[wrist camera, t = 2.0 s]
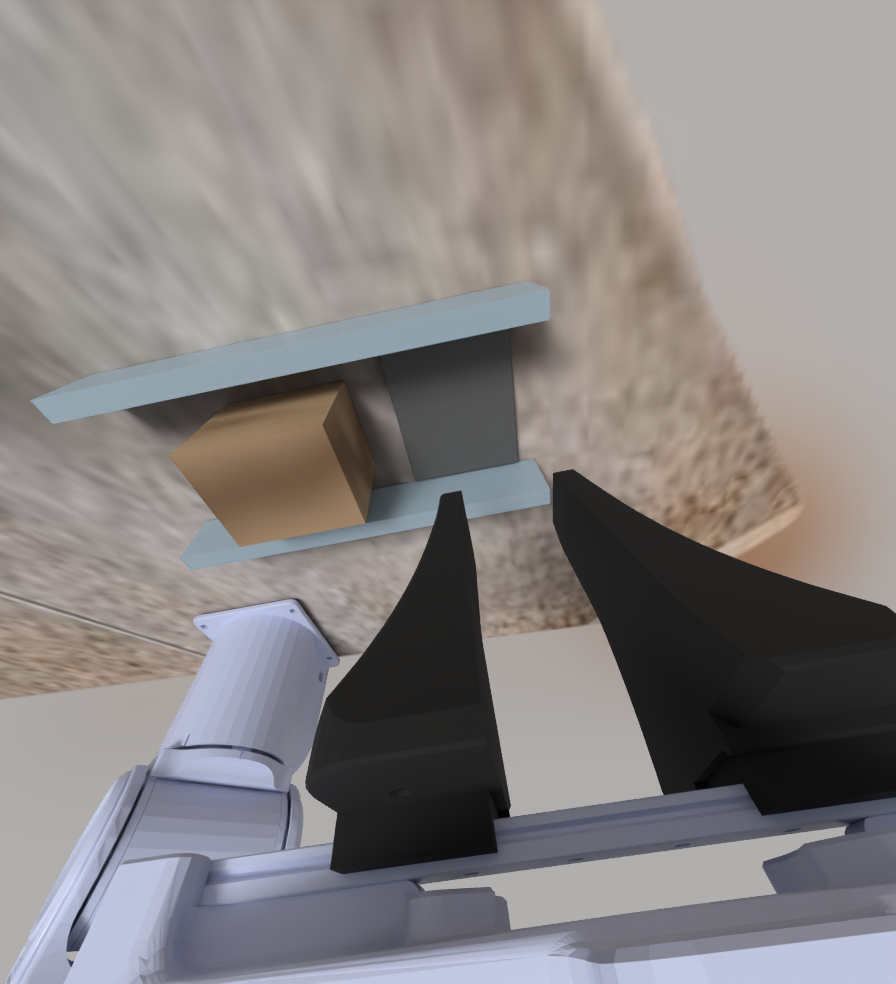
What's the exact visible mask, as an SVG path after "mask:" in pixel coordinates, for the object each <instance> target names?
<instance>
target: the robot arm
mask: <svg viewBox="0 0 896 984" xmlns="http://www.w3.org/2000/svg"><path fill="white" fill-rule="evenodd" d="M553 524H554V526H555V529H556V532H557V535H558V537H559V540H560V543H561V545H562V548H563V550H564V552H565V554H566V556H567V558H568V560H569V562H570V564H571V566H572V568H573V570H574V571H575V573H576V575H577V577H578V579H579V581H580V583H581V585H582V587H583V588H584V590H585V592H586V594H587V596H588V598H589V600H590V602H591V604H592V606H593V607H594V609H595V612H596V614H597V616H598V618H599V620H600V622H601V625H602V627H603V629H604V632H605V634H606V636H607V639H608V642H609V644H610V647H611V649H612V652H613V654H614V657H615V659H616V662H617V665H618V667H619V670H620V672H621V675H622V678H623V680H624V683H625V685H626V688H627V691H628V693H629V696H630V699H631V702H632V705H633V707H634V710H635V713H636V716H637V718H638V721H639V724H640V727H641V730H642V732H643V736H644V738H645V741H646V744H647V747H648V750H649V753H650V756H651V759H652V762H653V765H654V768H655V771H656V774H657V777H658V780H659V783H660V786H661V789H662V792H663V794H664V795H661V796H654V797H648V798H641V799H634V800H626V801H620V802H613V803H606V804H599V805H592V806H585V807H578V808H571V809H564V810H557V811H550V812H543V813H536V814H529V815H522V816H515V817H510V814H509V809H510V807H511V804H510V798H509V793H508V787H507V782H506V776H505V770H504V764H503V759H502V753H501V747H500V741H499V736H498V730H497V724H496V718H495V713H494V707H493V701H492V695H491V689H490V684H489V678H488V672H487V666H486V660H485V654H484V648H483V642H482V634H481V625H480V612H479V600H478V587H477V575H476V563H475V558H474V553H473V547H472V542H471V536H470V531H469V526H468V521H467V516H466V511H465V506H464V500H463V495H462V490H460V491H455V492H450V493H445V494H442V495H441V496H440V500H439V506H438V511H437V515H436V518H435V522H434V525H433V528H432V531H431V534H430V537H429V540H428V543H427V545H426V548H425V550H424V552H423V555H422V557H421V560H420V562H419V564H418V566H417V569H416V571H415V573H414V575H413V577H412V579H411V581H410V583H409V585H408V586H407V588H406V590H405V592H404V594H403V595H402V597H401V599H400V600H399V602H398V604H397V605H396V607H395V609H394V610H393V612H392V614H391V615H390V617H389V618H388V620H387V621H386V623H385V624H384V626H383V627H382V629H381V630H380V631H379V633H378V634H377V636H376V637H375V638H374V640H373V641H372V643H371V644H370V645H369V647H368V648H367V649H366V651H365V652H364V654H363V655H362V656H361V657H360V659H359V660H358V661H357V662H356V664H355V665H354V666H353V667H352V668H351V670H350V671H349V672H348V673H347V675H346V676H345V677H344V678H343V679H342V680H341V682H340V683H339V684H338V685H337V687H336V688H335V689H334V690H333V691H332V692H331V694H330V695H329V696H328V697H327V698H326V701H325V704H324V707H323V710H322V713H321V716H320V720H319V723H318V719H319V714H320V709H321V704H322V699H323V694H324V689H325V684H326V679H327V675H328V669H329V667H334V666H337V665H339V662H340V659H339V658H338V656H337V655H336V654H335V652H334V651H333V649H332V648H331V647H330V645H329V644H328V643H327V641H326V640H325V638H324V637H323V636H322V634H321V633H320V632H319V630H318V629H317V628H316V626H315V625H314V623H313V622H312V621H311V619H310V618H309V617H308V615H307V614H306V612H305V611H304V610H303V608H302V607H301V606H300V604H299V603H298V602H297V601H296V600H293V599H288V600H282V601H277V602H271V603H266V604H260V605H254V606H249V607H243V608H238V609H232V610H226V611H221V612H215V613H210V614H204V615H199V616H196V617H195V619H194V620H193V623H194V624H195V625H196V626H197V627H198V628H199V629H200V630H201V631H202V632H203V633H204V634H206V635H207V636H208V637H209V638H210V639H211V640H212V641H213V643H212V645H211V647H210V649H209V651H208V653H207V655H206V657H205V659H204V661H203V663H202V665H201V667H200V669H199V671H198V673H197V675H196V677H195V679H194V681H193V683H192V685H191V687H190V689H189V691H188V693H187V695H186V697H185V699H184V701H183V703H182V705H181V707H180V709H179V711H178V713H177V715H176V717H175V719H174V721H173V723H172V725H171V727H170V729H169V731H168V733H167V735H166V737H165V739H164V741H163V743H162V745H161V747H160V749H159V751H158V753H157V755H156V757H155V758H154V759H153V761H152V762H151V763H150V764H149V765H148V766H145V765H136V766H134V767H133V768H132V769H131V770H130V771H128V772H126V773H125V774H123V775H121V776H120V777H118V778H117V779H116V780H115V782H114V783H113V784H112V786H111V787H110V789H109V791H108V792H107V794H106V795H105V797H104V799H103V800H102V802H101V804H100V806H99V807H98V809H97V810H96V812H95V814H94V815H93V817H92V819H91V820H90V822H89V824H88V826H87V827H86V829H85V831H84V832H83V834H82V836H81V838H80V840H79V841H78V843H77V845H76V846H75V848H74V850H73V852H72V854H71V855H70V857H69V859H68V861H67V863H66V864H65V866H64V868H63V870H62V872H61V873H60V875H59V877H58V879H57V881H56V883H55V884H54V886H53V888H52V890H51V892H50V894H49V896H48V898H47V900H46V902H45V903H44V905H43V907H42V909H41V911H40V913H39V915H38V917H37V919H36V921H35V923H34V925H33V927H32V930H31V932H30V934H29V939H28V940H27V942H26V944H25V946H24V948H23V950H22V952H21V953H20V955H19V957H18V959H17V961H16V962H15V964H14V966H13V968H12V970H11V971H10V973H9V975H8V977H7V979H6V981H5V983H4V984H896V613H894V612H893V611H892V610H891V609H889V608H888V607H887V606H883V605H881V604H877V603H873V602H870V601H866V600H863V599H859V598H856V597H852V596H849V595H845V594H842V593H838V592H834V591H831V590H828V589H824V588H821V587H817V586H814V585H810V584H807V583H804V582H801V581H798V580H795V579H792V578H789V577H786V576H783V575H780V574H777V573H774V572H771V571H768V570H765V569H762V568H760V567H757V566H754V565H751V564H749V563H746V562H743V561H741V560H738V559H736V558H733V557H731V556H728V555H726V554H723V553H721V552H718V551H716V550H713V549H711V548H709V547H706V546H704V545H702V544H700V543H697V542H695V541H693V540H691V539H689V538H687V537H685V536H683V535H681V534H678V533H676V532H674V531H672V530H670V529H668V528H666V527H664V526H662V525H661V524H659V523H657V522H655V521H653V520H652V519H650V518H648V517H646V516H644V515H643V514H641V513H639V512H637V511H636V510H634V509H632V508H631V507H629V506H627V505H626V504H624V503H623V502H621V501H619V500H618V499H616V498H615V497H613V496H612V495H610V494H609V493H607V492H606V491H604V490H603V489H601V488H600V487H598V486H597V485H595V484H594V483H592V482H591V481H589V480H588V479H586V478H585V477H584V476H582V475H581V474H579V473H578V472H576V471H575V470H573V469H572V470H566V471H561V472H556V473H553ZM317 724H318V726H317ZM312 745H313V747H312ZM311 747H312V751H311V756H310V761H309V766H308V771H307V776H306V782H305V783H306V789H307V790H308V792H309V793H310V794H311V795H312V796H313V797H314V798H315V799H317V800H318V801H320V802H321V803H323V804H325V805H326V806H328V807H329V808H331V809H332V810H334V811H336V812H337V821H336V827H335V836H334V842H333V843H327V844H320V845H314V846H306V847H300V843H301V837H302V828H303V807H302V803H301V800H300V794H299V791H298V789H297V787H296V786H294V785H293V784H290V782H291V779H292V775H293V774H294V773H295V772H296V771H297V770H298V768H299V767H300V766H301V765H302V763H303V762H304V760H305V759H306V757H307V755H308V753H309V751H310V749H311ZM844 826H847V827H846V830H845V835H844V836H839V837H835V838H830V839H825V840H820V841H815V842H810V843H806V844H804V845H802V846H801V847H800V848H799V849H798V850H796V851H793V852H791V853H788V854H786V855H783V856H780V857H777V858H773V859H770V860H767V861H764V862H763V869H764V871H765V873H766V875H767V876H768V878H769V880H770V882H771V884H772V886H773V887H774V889H775V891H776V893H777V894H773V895H765V896H757V897H749V898H741V899H733V900H726V901H718V902H710V903H703V904H694V905H687V906H679V907H672V908H665V909H657V910H650V911H642V912H635V913H628V914H621V915H613V916H606V917H600V918H592V919H585V920H578V921H571V922H564V923H557V924H550V925H543V926H536V927H530V928H522V929H516V930H511V929H510V921H509V914H508V907H507V901H506V900H505V899H504V898H503V897H500V896H495V892H494V891H493V890H492V889H491V888H490V887H481V888H463V889H447V890H446V889H445V890H432V891H425V890H424V889H423V888H422V887H421V886H420V885H419V884H426V883H432V882H441V881H448V880H455V879H463V878H469V877H477V876H484V875H492V874H499V873H506V872H514V871H521V870H528V869H536V868H543V867H550V866H558V865H565V864H572V863H580V862H587V861H595V860H601V859H609V858H616V857H623V856H631V855H639V854H646V853H653V852H660V851H668V850H675V849H683V848H690V847H698V846H705V845H712V844H720V843H726V842H734V841H742V840H749V839H756V838H763V837H770V836H778V835H786V834H792V833H800V832H808V831H814V830H822V829H829V828H837V827H844ZM67 951H68V952H70V951H79V952H78V954H77V956H76V959H75V961H70V960H69V959H68V958H67Z"/></svg>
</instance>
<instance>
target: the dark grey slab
mask: <svg viewBox="0 0 896 984" xmlns="http://www.w3.org/2000/svg"><path fill="white" fill-rule="evenodd" d="M379 357H380V361H381V364H382V368H383V371H384V375H385V378H386V382H387V385H388V388H389V392H390V395H391V399H392V402H393V406H394V409H395V413H396V416H397V420H398V423H399V426H400V430H401V433H402V437H403V440H404V444H405V447H406V451H407V454H408V458H409V461H410V464H411V468H412V471H413V475H414V478H415V481H420V480H425V479H430V478H435V477H441V476H446V475H451V474H456V473H462V472H467V471H472V470H477V469H482V468H488V467H493V466H498V465H503V464H509V463H514V462H518V454H517V439H516V424H515V409H514V394H513V379H512V364H511V349H510V334H509V328H508V329H504V330H499V331H494V332H489V333H485V334H480V335H475V336H470V337H466V338H461V339H456V340H451V341H446V342H442V343H437V344H432V345H427V346H423V347H418V348H413V349H408V350H403V351H399V352H394V353H389V354H384V355H380V356H379Z"/></svg>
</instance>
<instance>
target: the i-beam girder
mask: <svg viewBox="0 0 896 984" xmlns="http://www.w3.org/2000/svg"><path fill="white" fill-rule="evenodd" d="M547 320H550V289H547V288H545V287H542V286H540V285H537V284H535V283H532V282H530V281H525V282H520V283H515V284H511V285H506V286H502V287H497V288H492V289H488V290H483V291H478V292H474V293H469V294H464V295H460V296H455V297H450V298H446V299H441V300H437V301H432V302H427V303H423V304H418V305H413V306H409V307H404V308H399V309H395V310H390V311H385V312H381V313H376V314H372V315H367V316H362V317H358V318H353V319H348V320H344V321H339V322H334V323H330V324H325V325H320V326H316V327H311V328H307V329H302V330H297V331H293V332H288V333H283V334H279V335H274V336H269V337H265V338H260V339H255V340H251V341H246V342H242V343H237V344H232V345H228V346H223V347H218V348H214V349H209V350H204V351H200V352H195V353H190V354H186V355H181V356H177V357H172V358H167V359H163V360H158V361H153V362H149V363H144V364H139V365H135V366H130V367H125V368H121V369H116V370H112V371H107V372H102V373H98V374H93V375H89V376H87V377H84V378H82V379H80V380H77V381H75V382H72V383H70V384H68V385H65V386H63V387H61V388H58V389H56V390H54V391H51V392H49V393H47V394H44V395H42V396H40V397H37V398H35V399H33V400H30V401H31V402H32V403H33V404H34V405H35V406H36V407H37V408H38V409H39V410H40V411H41V412H42V413H43V414H44V415H45V417H46V418H47V419H48V420H49V421H50V422H51V423H52V424H55V423H60V422H65V421H69V420H74V419H79V418H84V417H89V416H93V415H98V414H103V413H108V412H112V411H117V410H122V409H127V408H131V407H136V406H141V405H146V404H151V403H155V402H160V401H165V400H170V399H174V398H179V397H184V396H189V395H194V394H198V393H203V392H208V391H213V390H217V389H222V388H227V387H232V386H236V385H241V384H246V383H251V382H256V381H260V380H265V379H270V378H275V377H279V376H284V375H289V374H294V373H299V372H303V371H308V370H313V369H318V368H322V367H327V366H332V365H337V364H341V363H346V362H351V361H356V360H361V359H365V358H370V357H375V356H380V355H384V354H389V353H394V352H399V351H403V350H408V349H413V348H418V347H423V346H427V345H432V344H437V343H442V342H446V341H451V340H456V339H461V338H466V337H470V336H475V335H480V334H485V333H489V332H494V331H499V330H504V329H508V328H513V327H518V326H523V325H528V324H532V323H537V322H542V321H547ZM460 490H462V495H463V500H464V506H465V511H466V516H467V519H471V518H476V517H481V516H487V515H492V514H498V513H503V512H509V511H514V510H519V509H525V508H530V507H536V506H541V505H546V504H550V488H549V486H548V484H547V482H546V480H545V478H544V476H543V474H542V473H541V471H540V469H539V467H538V465H537V463H536V461H535V459H529V460H524V461H519V462H514V463H509V464H503V465H498V466H493V467H488V468H482V469H477V470H472V471H467V472H462V473H456V474H451V475H446V476H441V477H435V478H430V479H425V480H420V481H414V482H409V483H404V484H399V485H394V486H388V487H383V488H378V489H373V490H371V496H370V501H369V507H368V513H367V518H366V524H360V525H355V526H350V527H344V528H339V529H334V530H328V531H323V532H318V533H312V534H307V535H302V536H297V537H291V538H286V539H281V540H275V541H270V542H265V543H259V544H254V545H249V546H243V547H239V545H238V544H237V543H236V542H235V540H234V539H233V538H232V536H231V535H230V534H229V533H228V531H227V530H226V529H225V527H224V526H223V525H222V524H221V522H220V521H219V520H218V519H216V520H211V521H207V522H206V523H205V524H204V526H203V527H202V529H201V530H200V531H199V533H198V534H197V535H196V537H195V538H194V539H193V541H192V542H191V544H190V545H189V546H188V548H187V549H186V550H185V552H184V553H183V554H182V556H181V557H180V559H181V560H182V561H183V562H184V563H185V564H186V565H187V566H188V567H189V568H190V569H191V570H195V569H200V568H206V567H211V566H216V565H222V564H227V563H233V562H238V561H244V560H249V559H254V558H260V557H265V556H271V555H276V554H281V553H287V552H292V551H298V550H303V549H308V548H314V547H319V546H325V545H330V544H335V543H341V542H346V541H352V540H357V539H362V538H368V537H373V536H379V535H384V534H390V533H395V532H400V531H406V530H411V529H417V528H422V527H427V526H433V525H434V522H435V518H436V515H437V511H438V506H439V500H440V496H441V495H442V494H445V493H450V492H455V491H460Z"/></svg>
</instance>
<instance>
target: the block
mask: <svg viewBox="0 0 896 984" xmlns="http://www.w3.org/2000/svg"><path fill="white" fill-rule="evenodd" d="M169 457H170V458H171V459H172V461H173V462H174V463H175V465H176V466H177V467H178V468H179V470H180V471H181V472H182V474H183V475H184V476H185V477H186V479H187V480H188V481H189V483H190V484H191V485H192V486H193V488H194V489H195V490H196V492H197V493H198V494H199V495H200V497H201V498H202V499H203V500H204V502H205V503H206V504H207V506H208V507H209V508H210V509H211V511H212V512H213V513H214V515H215V516H216V517H217V518H218V520H219V521H220V522H221V524H222V525H223V526H224V527H225V529H226V530H227V531H228V533H229V534H230V535H231V536H232V538H233V539H234V540H235V542H236V543H237V544H238V545H239V547H243V546H249V545H254V544H259V543H265V542H270V541H275V540H281V539H286V538H291V537H297V536H302V535H307V534H312V533H318V532H323V531H328V530H334V529H339V528H344V527H350V526H355V525H360V524H366V518H367V513H368V507H369V501H370V496H371V490H372V484H373V479H374V473H375V467H376V465H375V463H374V460H373V457H372V454H371V452H370V449H369V446H368V443H367V441H366V438H365V435H364V432H363V430H362V427H361V424H360V422H359V419H358V416H357V413H356V411H355V408H354V405H353V402H352V400H351V397H350V394H349V391H348V389H347V386H346V383H345V380H342V381H337V382H332V383H328V384H323V385H318V386H313V387H308V388H304V389H299V390H294V391H289V392H285V393H280V394H275V395H270V396H265V397H261V398H256V399H251V400H246V401H242V402H237V403H232V404H227V405H225V406H224V407H223V408H222V409H221V410H220V411H218V412H217V413H216V414H215V415H214V416H213V417H212V418H211V419H209V420H208V421H207V422H206V423H205V424H204V425H203V426H202V427H200V428H199V429H198V430H197V431H196V432H195V433H194V434H193V435H192V436H190V437H189V438H188V439H187V440H186V441H185V442H184V443H183V444H181V445H180V446H179V447H178V448H177V449H176V450H175V451H174V452H173V453H171V454H170V455H169Z"/></svg>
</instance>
